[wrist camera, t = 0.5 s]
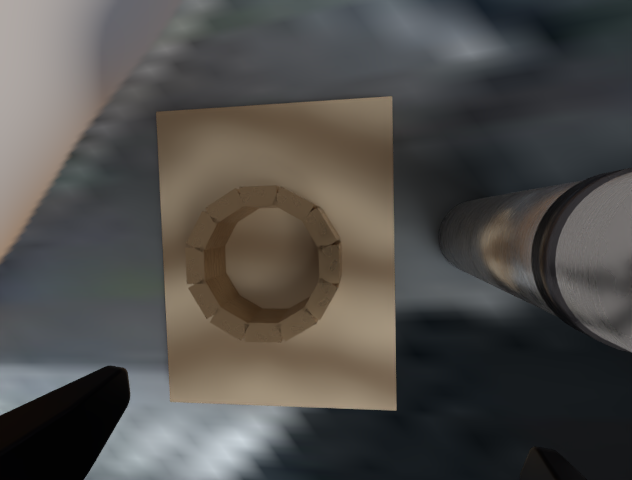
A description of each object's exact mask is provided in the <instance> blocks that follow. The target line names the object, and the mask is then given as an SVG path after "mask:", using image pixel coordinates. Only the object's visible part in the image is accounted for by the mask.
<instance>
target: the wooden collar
mask: <svg viewBox="0 0 632 480" xmlns="http://www.w3.org/2000/svg"><path fill="white" fill-rule="evenodd" d="M259 208H280V209H281V210H283V211H285V212H287V213H289V214H290V215H292V216H294V217H296V218H298V219H299V220H301V221H302V222H303V223H304V225H305V227H306V228H307V230H308V232H309V233H310V235H311V237H312V238H313V240H314V242H315V243H316V245H317V247H318V248H319V282H318V284H317V286H316V288H315V289H314V291H313V293H312V295H311V296H310V297H308V298H306V299H305V300H303V301H301V302H299V303H298V304H296V305H294V306H293V307H291V308H289V309H268V308H261V307H259V306H258V305H256V304H254V303H252V302H251V301H249V300H247V299H246V298H244V297H242V296H240V295H239V293H238V291H237V290H236V288H235V286H234V285H233V283H232V281H231V280H230V278H229V276H228V275H227V273H226V254H225V245H226V243H227V242H228V240H229V238H230V236H231V234H232V232H233V230H234V228H235V226H236V224H237V222H239V221H241V220H242V219H244V218H245V217H247V216H248V215H250V214H251V213H253V212H255V211H256V210H258V209H259ZM205 209H206V210H207V211H202V212H201V214H200V216H199V218H198V220H197V222H196V224H195V226H194V228H193V230H192V232H191V234H190V236H189V238H188V240H187V242H186V244H188V245H190V246H191V247H187V248H185V256H186V278H187V284H194V285H192V286H191V287H189V288H188V289H189V291H190V292H191V294H192V296H193V297H194V299H195V301H196V302H197V304H198V306H199V307H200V309H201V311H202V312H203V314H204V316H205V317H206V319H208V318H210V317H211V316H213V317H212V319H211V321H210V323H212V324H213V325H215V326H217V327H218V328H220V329H222V330H224V331H225V332H227V333H229V334H230V335H232V336H234V337H235V338H237V339H239V340H242V339H243V338H244V337H245V342H278V343H281V342H282V340H283V339H284V340H285V341H287V340H289V339H291V338H292V337H294V336H296V335H298V334H299V333H301V332H303V331H305V330H306V329H308V328H310V327H312V326H313V325H315V324H317V322H318V320H321V318H322V316H323V314H324V312H325V311H326V309H327V307H328V305H329V304H330V302H331V300H332V298H333V296H334V295H335V293H336V291H337V289H338V287H339V284H340V280H341V276H342V248H341V242H336V241H337V240H338V239H339V238H340V236H339V235H338V233H337V231H336V230H335V228H334V227H333V225H332V223H331V222H330V220H329V218H328V217H327V215H326V213H325V212H324V210H323V209H320V206H318V205H316V204H314V203H312V202H311V201H309V200H307V199H305V198H303V197H301V196H300V195H298V194H296V193H294V192H292V191H290V190H288V189H286V188H283V187H279V186H277V185H272V186H245V187H240V189H237V188H235V189H233V190H232V191H230V192H229V193H227V194H225V195H224V196H222V197H221V198H219V199H218V200H216V201H215V202H213V203H212V204H210V205H209V206H207V207H206V208H205Z"/></svg>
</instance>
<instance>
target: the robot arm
mask: <svg viewBox="0 0 632 480" xmlns="http://www.w3.org/2000/svg"><path fill="white" fill-rule="evenodd" d="M129 400H130V388H129V380H128V372H127V370H126V369H124V368H121V367H116V366H106V367H104V368H101V369H99V370H97V371H95V372H93V373H91V374H89V375H86V376H84V377H82V378H80V379H78V380H76V381H73V382H71V383H69V384H67V385H65V386H63V387H61V388H58V389H56V390H54V391H52V392H50V393H48V394H46V395H43V396H41V397H39V398H37V399H35V400H33V401H31V402H28V403H26V404H24V405H22V406H20V407H18V408H16V409H13V410H11V411H9V412H7V413H5V414H3V415H1V416H0V480H84V478H85V477H86V475H87V474H88V472H89V471H90V469H91V467H92V466H93V464H94V463H95V461H96V459H97V457H98V456H99V454H100V452H101V451H102V449H103V447H104V445H105V444H106V442H107V440H108V439H109V437H110V435H111V433H112V432H113V430H114V428H115V427H116V425H117V423H118V421H119V420H120V418H121V416H122V415H123V413H124V411H125V410H126V408H127V406H128V403H129ZM520 480H587V479H586V478H585V477H584V476H583V475H581V474H580V473H579V472H578V471H577V470H576V469H575V468H574V467H573V466H572V465H571V464H570V463H569V462H568V461H567V460H566V459H565V458H563V457H562V456H561V455H560V454H559V453H558V452H556V451H555V450H552V449H547V448H542V447H537V446H535V447H532V448H531V449H530V451H529V454H528V456H527V458H526V461H525V463H524V465H523V468H522V470H521V473H520Z"/></svg>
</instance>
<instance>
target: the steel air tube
mask: <svg viewBox="0 0 632 480" xmlns="http://www.w3.org/2000/svg"><path fill="white" fill-rule="evenodd" d="M439 244H440V248H441V250H442V253H443V255H444V256H445V258H446V259H447V260H448V261H449V262H450V263H451V264H452V265H453V266H455V267H456V268H458V269H460V270H462V271H464V272H466V273H468V274H470V275H472V276H474V277H476V278H478V279H481V280H483V281H485V282H487V283H489V284H491V285H493V286H495V287H497V288H499V289H501V290H503V291H505V292H508V293H510V294H512V295H514V296H516V297H518V298H520V299H522V300H524V301H526V302H528V303H530V304H533V305H535V306H537V307H539V308H541V309H543V310H545V311H547V312H549V313H551V314H553V315H555V316H557V317H559V318H560V319H561V320H562V321H564V322H565V323H566V324H568V325H569V326H571V327H573V328H574V329H576V330H578V331H580V332H582V333H584V334H586V335H588V336H590V337H592V338H594V339H596V340H598V341H600V342H602V343H604V344H607V345H609V346H611V347H614V348H617V349H620V350H623V351H628V352H632V168H628V169H623V170H618V171H612V172H608V173H603V174H599V175H596V176H593V177H590V178H588V179H586V180H583V181H577V182H572V183H566V184H560V185H555V186H549V187H543V188H537V189H532V190H526V191H520V192H515V193H509V194H503V195H498V196H492V197H486V198H481V199H475V200H470V201H466V202H463V203H461V204H459V205H457V206H456V207H454V208H453V209H452V210H451V211H450V212H449V213H448V214H447V215H446V216H445V218H444V220H443V222H442V224H441V227H440V231H439Z"/></svg>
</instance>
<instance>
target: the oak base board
mask: <svg viewBox="0 0 632 480" xmlns="http://www.w3.org/2000/svg"><path fill="white" fill-rule="evenodd" d="M156 118H157V138H158V159H159V179H160V200H161V221H162V241H163V262H164V282H165V303H166V323H167V344H168V365H169V385H170V402H186V403H213V404H239V405H265V406H292V407H318V408H344V409H371V410H396V343H395V268H394V193H393V118H392V96H389V97H373V98H358V99H343V100H328V101H313V102H298V103H283V104H267V105H252V106H237V107H222V108H207V109H192V110H176V111H161V112H156ZM272 185H277V186H279V187H283V188H286V189H288V190H290V191H292V192H294V193H296V194H298V195H300V196H301V197H303V198H305V199H307V200H309V201H311V202H312V203H314V204H316V205H318V206H320V209H323V210H324V212H325V213H326V215H327V217H328V218H329V220H330V222H331V223H332V225H333V227H334V228H335V230H336V231H337V233H338V235H339V236H340V238H339V239H338V240H337V241H336V242H341V248H342V276H341V280H340V284H339V287H338V289H337V291H336V293H335V295H334V296H333V298H332V300H331V302H330V304H329V305H328V307H327V309H326V311H325V312H324V314H323V316H322V318H321V320H318V322H317V324H315V325H313V326H312V327H310V328H308V329H306V330H305V331H303V332H301V333H299V334H298V335H296V336H294V337H292V338H291V339H289V340H287V341H285V340H284V339H283V340H282V342H281V343H278V342H245V337H244V338H243V339H242V340H239V339H237V338H235V337H234V336H232V335H230V334H229V333H227V332H225V331H224V330H222V329H220V328H218V327H217V326H215V325H213V324H212V323H210V321H211V319H212V317H213V316H211V317H210V318H208V319H206V317H205V316H204V314H203V312H202V311H201V309H200V307H199V306H198V304H197V302H196V301H195V299H194V297H193V296H192V294H191V292H190V291H189V289H188V288H189V287H191V286H192V285H194V284H187V278H186V256H185V248H187V247H191V246H190V245H188V244H186V242H187V240H188V238H189V236H190V234H191V232H192V230H193V228H194V226H195V224H196V222H197V220H198V218H199V216H200V214H201V212H202V211H207V210H206V209H205V208H206V207H207V206H209V205H210V204H212V203H213V202H215V201H216V200H218V199H219V198H221V197H222V196H224V195H225V194H227V193H229V192H230V191H232V190H233V189H235V188H237V189H240V187H245V186H272ZM225 254H226V273H227V275H228V276H229V278H230V280H231V281H232V283H233V285H234V286H235V288H236V290H237V291H238V293H239V295H240V296H242V297H244V298H246V299H247V300H249V301H251V302H252V303H254V304H256V305H258V306H259V307H261V308H268V309H289V308H291V307H293V306H294V305H296V304H298V303H299V302H301V301H303V300H305V299H306V298H308V297H310V296H311V295H312V293H313V291H314V289H315V288H316V286H317V284H318V282H319V248H318V247H317V245H316V243H315V242H314V240H313V238H312V237H311V235H310V233H309V232H308V230H307V228H306V227H305V225H304V223H303V222H302V221H301V220H299V219H298V218H296V217H294V216H292V215H290V214H289V213H287V212H285V211H283V210H281V209H280V208H259V209H258V210H256V211H255V212H253V213H251V214H250V215H248V216H247V217H245V218H244V219H242V220H241V221H239V222H237V224H236V226H235V228H234V230H233V232H232V234H231V236H230V238H229V240H228V242H227V243H226V245H225Z"/></svg>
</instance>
